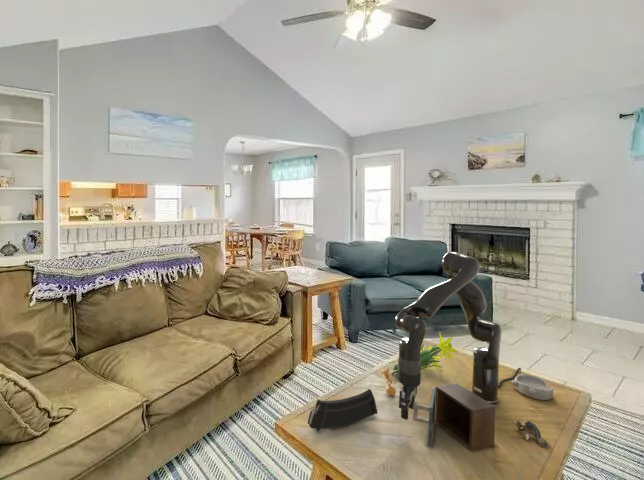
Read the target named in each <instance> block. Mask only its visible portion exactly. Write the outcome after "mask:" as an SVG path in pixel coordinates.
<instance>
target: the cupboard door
mask: <svg viewBox="0 0 644 480" xmlns="http://www.w3.org/2000/svg"><path fill="white" fill-rule="evenodd" d="M431 389H432V390H431V396H430V402H429V405H426V404H422V403H419V402H417V401H416V402H414V403H413V409H412V412H413V413H412V420H413V421H415V422H418V423H420V424H424V425H428V441H427V442H428V443H427V444H428V447H431V448H432V445H433V439H434V431H435V425H436V423H435V405H436V386H432V388H431ZM418 410H421V411H425V412H427V413H428V418H427V417H424V416H421V415H418V412H419V411H418Z"/></svg>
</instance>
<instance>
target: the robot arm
mask: <svg viewBox="0 0 644 480" xmlns="http://www.w3.org/2000/svg"><path fill="white" fill-rule="evenodd" d="M441 265H442V271H443V272H444V274H445V275H446V277H447V279H448V280H447V281H444V282H441V283H439V284H436V285H434V286H431V287H429V288H428V289H426V290H425V291H424V292H422V294H421V295H420V296H419V297H418V298H417V299H416V301H415V302H413V303H411V304H409V305H408V306H406V307H404V308H402V309H401V310H400V311H399V312H398V313H397V314H396V316H395V319H394V324H395V327H396V328H397V329H398V330H399V331H402V332H404V333H406V334H408V335H409V336H408V337H403V338H401V339H400V340H399V343H398V359H397V364H398V377H397V381H398V382H399V383H400V384H401V385H402V386H401V389H400V390H399V392H398V393H399V395H398V396H399V398H398V399H399V400H398V408H399V409H400V418H401V419H403V420H405V421H408V419H409V409H411V410H413V403H414V402H415V401H416V400H415V399H416V398H417V395H418V387H419V386H420V385H421V380H422V379H421V378H422V377H421V375H422V370H421V368H422V367H421V361H420V355H421V352H422V350H421V346H423V342H424V340H425V336H426V334H427V322H426V321H425V320H424V318H427V319H429V318H432V317H433V316H434V315H435V314H436V313H437V311H438V310H439V309H440V308H441V307H442V306H443V305H444V303H445V302H447V301H448V300H449V299H450V298H451V297H452V296H454V295H456V298H457V300H458V304H459V305H460V307H461V309H462V311H463V315H464V317H465V320H466V325H467V328H468V332H469V334H470V336H471V338H472V339H473V340H476V341H478V342H481V343H485V344H488V346H480V347H479V346H478V347H475V348H474V349H473V351H472V378H471V379H472V380H471V383H472V384H471V392H472V393H474V394H476V395H477V396H479V397H481V398H482V399H484V400H486V401H487V402H489V403H491V404H496V403H498V402H499V388H500V387H501V385H502V383H504V382H507V381H510V380H511V381H512V380H513V379H515V377H516V376H518V375H517V374H518V373H519V372H520V371H522V369H521V368H520V367H518V368H517V369H516V371H515V372H514V374H513V376H511V377H508V378H504V379H501V380H500V381H499V373H500V354H501V341H502V327H501V324H499V323H497V322H494V321H490V320H486V319H483V318H480V317H481V316H482V315H483V314H484V313H485V311H486V310H487V305H488V304H487V300H486V298H485V295H484V293H483V291H482V289H480V287H479V286H478V285H477V284H476V283H475V282H473V280H474V279H475V277H477V275H478V274H479V271H480V262H479V260H478V259H477V258H475V257H473V256H470V255H467V254H465V253H460V252H456V251H448V252H446V253H445V254H444V256H443V257H442V261H441Z"/></svg>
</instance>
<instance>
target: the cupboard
mask: <svg viewBox="0 0 644 480" xmlns="http://www.w3.org/2000/svg"><path fill="white" fill-rule="evenodd" d="M435 387H436V398H435V424H436V425H438V426H439V427H440V428H441V429H443V430H444V431H446V432H447V433H448V434H450V436H452V437H454V439H456V440H457V441H458V442H460V443H461V444H462V445H464V446H465V447H466V448H468V450H470V451H477V450H480V449H486V448H490V447H494V446H495V436H496V435H495V434H496V433H495V432H496V409H497V408H496V407H497V406H496V405H494V404H493V403H489V402H487V401H486V400H484V399H482V398H481V397H479V396H477V395H476V394H474V393H472V390H470V389H467V388H466V387H464V386H463V385H460V384H459V383H458V382H457V383H450V384H443V385H438V386H437V385H436V386H435Z"/></svg>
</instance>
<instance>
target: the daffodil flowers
mask: <svg viewBox="0 0 644 480" xmlns="http://www.w3.org/2000/svg"><path fill="white" fill-rule="evenodd" d="M438 335H439V343H438V344H437V346H436V345H433V346H431V345H429V346H428V343H427V344H426V348H424V346H425V341H423V343H422V345H421V355H420V361H421V371H422V370H425V369H427V368H432V367H435V368H436V369H437V370H439V371H441V368H443V369H444V367H443V366H442V365H441V366H440V365H439V362H441V361H440V359H441V357H442V358H443V360H445V357H447V358H448V359H450V361H452V362H454V359H453V356H452V354H451V353H459V351H458V350H456V349H455V348H453V344H452V343H451V342H452V341H453V339H454V336H451V337H448V338H447V339H445V340H444V339H443V336H442V334H441V331H439V333H438ZM440 352H441V353H440ZM439 353H440V354H441V357H440V355H438V354H439ZM431 364H432V365H431ZM392 370H393V372H392V373H391V375H392V376H393V375H395V376H396V378H398V363H397V364H394V365H393V369H392Z"/></svg>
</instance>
